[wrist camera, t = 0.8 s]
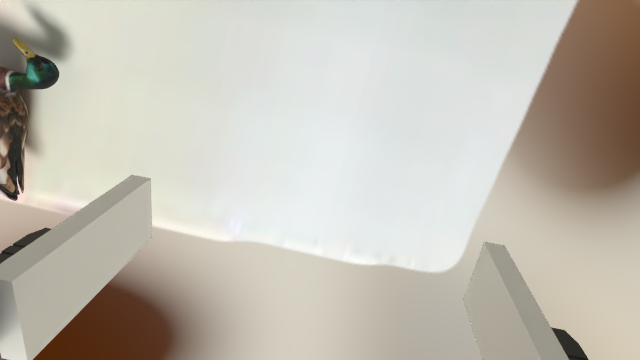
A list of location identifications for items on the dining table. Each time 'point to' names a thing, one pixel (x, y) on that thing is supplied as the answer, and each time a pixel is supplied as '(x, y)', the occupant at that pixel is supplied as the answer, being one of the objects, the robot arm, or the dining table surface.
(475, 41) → the dining table surface
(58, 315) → the robot arm
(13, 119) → the decorative duck model
